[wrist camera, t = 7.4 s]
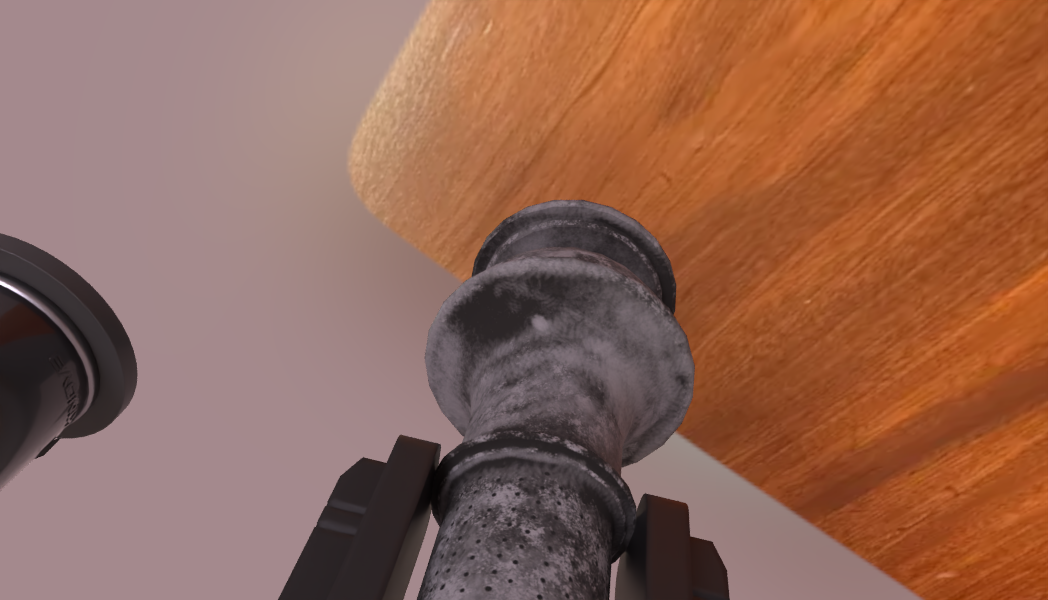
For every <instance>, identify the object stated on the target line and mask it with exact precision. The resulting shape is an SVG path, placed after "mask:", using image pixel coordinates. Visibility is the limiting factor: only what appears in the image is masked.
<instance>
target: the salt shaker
mask: <svg viewBox="0 0 1048 600" xmlns="http://www.w3.org/2000/svg"><path fill="white" fill-rule="evenodd" d="M675 301H676V282H675V278H674V275H673V271H672V267H671V263H670V260H669V259H668V257H667V255H666V254H665V252H664V251H663V249H662V247H661V246H660V244H659V242H658V241H657V239H656V238H655V237H654V236H653V235H652V234H651V233H649V232H648V231H647V230H646V229H645V228H644V227H643V226H642V225H641V224H640V223H639V222H637V221H636V220H635V219H633V218H631V217H629V216H627V215H625V214H623V213H621V212H620V211H618V210H616V209H614V208H612V207H609V206H605V205H601V204H597V203H593V202H589V201H585V200H552V201H548V202H544V203H540V204H536V205H533V206H529V207H526V208H524V209H522V210H521V211H519V212H517V213H515V214H514V215H512V216H510V217H508V218H506V219H505V220H503V221H502V222H501V223H500V224H499V225H498V226H497V227H496V228H495V229H494V230H493V231H492V232H491V233H490V234H489V235H488V236H487V238H486V240H485V242H484V243H483V245H482V247H481V249H480V251H479V253H478V255H477V257H476V259H475V262H474V267H473V273H472V277H471V278H469V279H468V280H466V281H465V282H464V283H463V284H462V285H461V286H460V287H459V288H458V289H457V290H456V291H455V292H454V293H452V294H451V295H450V296H449V297H448V298H447V299H446V300H445V301H444V302H443V304H442V306H441V308H440V310H439V312H438V314H437V316H436V318H435V320H434V322H433V323H432V325H431V327H430V329H429V333H428V340H427V347H426V353H425V363H426V369H427V375H428V381H429V386H430V388H431V390H432V392H433V394H434V397H435V399H436V401H437V403H438V405H439V407H440V409H441V411H442V412H443V414H444V415H445V416H446V417H447V418H448V419H449V421H450V422H451V423H452V424H453V425H454V427H455V428H456V429H457V430H458V431H459V432H460V434H461V435H462V436H464V439H463V442H462V444H460V445H458V446H457V447H456V448H455V449H454V450H452V451H451V452H450V453H448V454H447V455H446V456H445V457H444V458H443V459H442V461H441V462H440V464H439V466H438V467H437V469H436V471H435V475H434V480H433V487H432V494H431V508H432V513H433V516H434V518H435V519H436V521H437V523H438V525H439V526H440V528H439V531H438V534H437V537H436V541H435V544H434V547H433V550H432V553H431V556H430V559H429V563H428V566H427V569H426V572H425V576H424V578H423V582H422V585H421V588H420V591H419V594H418V597H417V600H609V593H610V577H611V564H612V563H614V562H616V560H617V559H618V558H619V557H620V556H621V555H622V554H623V553H624V552H625V551H626V549H627V547H628V545H629V542H630V540H631V537H632V534H633V532H634V529H635V525H636V505H635V502H634V500H633V497H632V494H631V492H630V489H629V487H628V485H627V484H626V483H625V482H624V480H623V479H622V478H621V468H622V467H624V466H627V465H630V464H633V463H636V462H638V461H640V460H641V459H643V458H644V457H646V456H647V455H649V454H650V453H652V452H653V451H655V450H656V449H658V448H659V447H661V446H662V445H663V444H664V443H665V442H666V441H667V440H668V439H669V437H670V436H671V435H672V434H673V433H674V432H675V431H676V429H677V428H678V427H679V426H680V425H681V424H682V421H683V419H684V417H685V414H686V412H687V410H688V407H689V405H690V403H691V400H692V398H693V386H694V372H695V365H694V362H693V358H692V354H691V351H690V347H689V343H688V339H687V336H686V334H685V333H684V331H683V329H682V328H681V326H680V325H679V323H678V322H677V320H676V318H675V317H674V312H675Z"/></svg>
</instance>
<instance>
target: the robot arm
mask: <svg viewBox="0 0 1048 600" xmlns="http://www.w3.org/2000/svg"><path fill="white" fill-rule="evenodd" d="M99 385H100V377H99V370H98V366H97V362H96V360H95V357H94V354H93V352H92V350H91V348H90V346H89V344H88V342H87V341H86V339H85V338H84V336H83V335H82V333H81V332H80V330H79V329H78V328H77V326H76V325H75V324H74V323H73V322H72V320H71V319H70V318H69V317H68V316H67V315H66V314H65V313H64V312H63V311H62V310H61V309H60V308H59V307H58V306H57V305H55V304H54V303H53V302H52V301H51V300H49V299H48V298H47V297H46V296H44V295H43V294H42V293H40V292H39V291H37V290H36V289H34V288H33V287H31V286H29V285H28V284H26V283H24V282H22V281H20V280H18V279H17V278H14V277H12V276H10V275H8V274H5V273H3V272H0V491H1V490H2V489H3V488H4V487H5V486H6V485H7V484H8V483H9V482H10V481H11V480H12V479H13V478H15V476H17V475H18V474H19V473H20V472H21V471H22V470H23V469H24V468H25V467H26V466H27V465H28V464H29V463H30V462H31V461H32V460H33V459H36V458H38V457H41V456H43V455H45V454H46V452H48V451H49V449H51V448H52V447H53V446H54V444H56V443H57V442H58V440H59V439H61V438H62V437H60V438H58V439H56V440H54V439H55V438H56V437H57V436H58V435H59V434H60V433H62V432H63V431H64V430H65V429H66V428H67V427H68V426H69V425H70V424H71V423H73V422H75V421H76V420H78V419H79V418H80V417H81V416H82V415H83V414H84V413H85V412H86V411H87V410H88V409H89V408H90V407H91V406H92V405H93V403H94V402H95V400H96V398H97V395H98V392H99ZM440 451H441V445H440V444H438V443H433V442H429V441H425V440H420V439H416V438H412V437H408V436H403V435H400V436H399V437H398V439H397V441H396V443H395V445H394V448H393V450H392V452H391V454H390V457H389V459H388V461H387V463H384V462H380V461H376V460H372V459H368V458H362V459H360V460H359V461H358V462H357V463H356V464H354V465H353V466H352V467H351V468H350V469H348V470H347V471H346V472H345V473H344V474H342V475H341V476H340V478H339V480H338V482H337V484H336V486H335V488H334V490H333V492H332V494H331V496H330V498H329V500H328V504H327V506H325V508H324V510H323V512H322V514H321V516H320V518H319V520H318V522H317V526H316V527H315V528H314V529H313V532H312V533H311V535H310V537H309V540H308V541H307V543H306V546H305V547H304V549H303V551H302V553H301V555H300V557H299V559H298V561H297V563H296V565H295V567H294V569H293V571H292V573H291V575H290V577H289V579H288V581H287V583H286V585H285V587H284V589H283V591H282V593H281V595H280V597H279V599H278V600H403V599H404V596H405V593H406V590H407V587H408V584H409V581H410V578H411V575H412V572H413V569H414V566H415V563H416V560H417V557H418V554H419V551H420V548H421V545H422V542H423V539H424V536H425V533H426V530H427V526H428V522H429V519H430V514H431V510H432V508H431V494H432V487H433V480H434V475H435V471H436V469H437V467H438V465H439V457H440ZM615 600H730V599H729V589H728V577H727V570H726V568H725V566H724V564H723V562H722V560H721V558H720V556H719V554H718V552H717V550H716V548H715V546H714V544H713V542H711V541H707V540H702V539H699V538H695V537H690V528H689V510H688V506H687V504H686V503H683V502H679V501H675V500H670V499H666V498H662V497H658V496H654V495H649V494H644V495H643V496H642V498H641V501H640V503H639V506H638V509H637V511H636V525H635V529H634V532H633V534H632V537H631V540H630V542H629V545H628V547H627V549H626V551H625V552H624V553H623V554H622V555H621V556H620V560H619V566H618V572H617V578H616V588H615Z"/></svg>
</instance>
